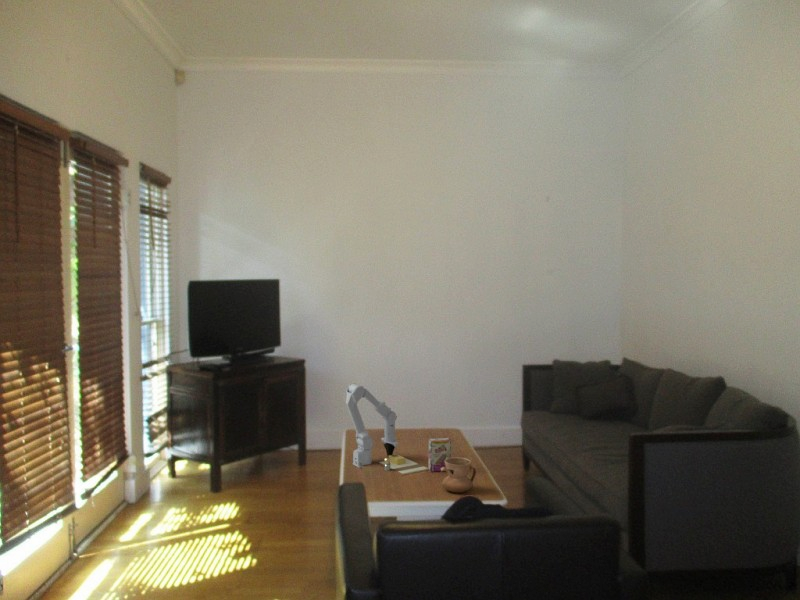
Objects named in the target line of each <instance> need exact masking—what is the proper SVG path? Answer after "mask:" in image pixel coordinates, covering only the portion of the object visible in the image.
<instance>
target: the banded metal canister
mask: <svg viewBox="0 0 800 600" xmlns="http://www.w3.org/2000/svg"><path fill="white" fill-rule="evenodd" d="M383 460H384V464H383V467H384V471H386V472H388V471H391V468H390V458H389V457H388V456H386V457H384V458H383Z"/></svg>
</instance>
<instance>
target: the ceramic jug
mask: <svg viewBox="0 0 800 600" xmlns="http://www.w3.org/2000/svg"><path fill="white" fill-rule="evenodd" d="M445 465H446V468H445V467H442V468H441V471H440V472H447V474H448V475H447V476H446V477H445V478H443V479H442V483H441V486H442V488H444V489H445V490H446V491H448V492H451V493H466V492H468V491H470V490H472V488H473V486H474V483H473V481H474V480H475V478H476V475H477V468H476V467H475V466H474V465H472V461H471V460H470V459H468V458H466V457H461V456H460V457H458V456H457V457H451V458H448V459H446V460H445ZM470 470H473V471H472V475H471V477H470V478H469V477H468V476H467V475H468V473H469V471H470Z"/></svg>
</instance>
